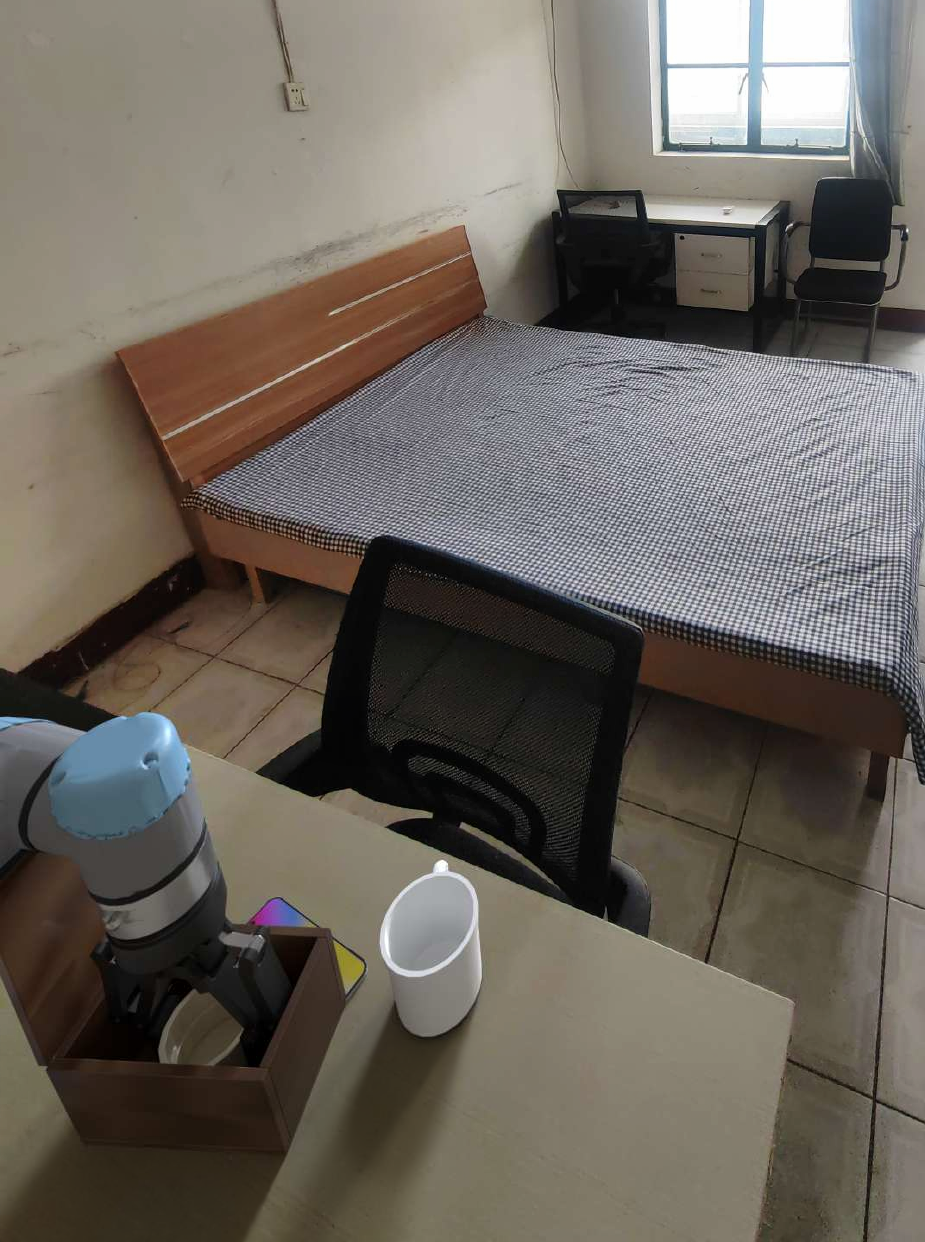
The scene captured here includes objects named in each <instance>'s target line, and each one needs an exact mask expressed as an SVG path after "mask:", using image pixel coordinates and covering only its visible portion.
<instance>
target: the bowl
mask: <svg viewBox="0 0 925 1242" xmlns="http://www.w3.org/2000/svg"><path fill="white" fill-rule="evenodd" d="M243 1029H244V1028H243V1027H242V1026H241V1025H240V1024H239V1023H238V1022H237V1021H236V1020H235V1019H234V1018H233V1017H232V1016H231V1015H230V1014H229V1013H228V1012H227V1011H226V1009H225V1008H224V1007H223V1006H222V1005H221V1004H220V1003H219V1002H218V1001H217V1000H216V999H215V998H214V997H213V996H212V995H211V994H210V993H205V994H199V993H198V992H197V991H196V990H195V989H193V990H192V991H191V992H190V993H189V994H188V995H187V996H186V997H185V998H184V999H183V1000H182V1002H181V1003H180V1004H179V1005H178V1006H177V1007H176V1009H175V1010H174V1012H173V1013H172V1015H171V1017H170V1018H169V1020H168V1022H167V1024H166V1025H165V1027H164V1030H163V1032H162V1036H161V1040H160V1044H159V1048H158V1054H159V1060H160V1063H170V1064H190V1065H209V1066H229V1067H249V1065H248V1062H247V1059H246V1057H245V1054H244V1051H243V1048H242V1045H241V1042H240V1039H239V1038H240V1035H241V1033H242V1031H243Z"/></svg>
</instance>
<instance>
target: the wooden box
mask: <svg viewBox="0 0 925 1242" xmlns="http://www.w3.org/2000/svg"><path fill="white" fill-rule="evenodd" d="M233 924H234V926H235V930H236V932H237V933H242V934H248V935H250V934H252V933H254V931H255V929H256V927H257V926H258V925H252V924H246V923H233ZM266 926H268V927H269V928H270V944H271V946H272V948H273V950H274V952H275V954H276V956H277V958H278V960H279V962H280V964H281V966H282V968H283V970H284V972H285V974H286V976H287V978H288V979H289V981H290V983H291V985H292V987H293V989H294V991H293V993H292V995H291V998H290V1000H289V1002H288V1004H287V1006H286V1009H285V1011H284V1013H283V1015H282V1017H281V1020H280V1022H279V1024H278V1026H277V1028H276V1031H275V1033H274V1035H273V1037H272V1039H271V1042H270V1044H269V1046H268V1048H267V1050H266V1053H265V1055H264V1057H263V1059H262V1061H261V1064H260V1066H259V1068H249V1067H229V1066H209V1065H190V1064H170V1063H158V1060H157V1058H156V1055H155V1053H154V1050H153V1048H152V1045H150V1044H149V1043H148V1042H147V1041H146V1039H145V1037H144V1034H143V1032H142V1031H141V1030H136V1029H135V1028H134V1027H133V1020H129V1019H127V1020H126V1021H125V1023H124V1024H123V1025H114V1024H113V1023H112V1022H111V1021H110V1016H109V1012H108V1007H107V1002H106V997H105V992H104V987H103V985H102V987H101V988H100V990H99V991H98V993H97V994H96V996H95V997H94V999H93V1000H92V1002H91V1003H90V1005H89V1006H88V1008H87V1009H86V1011H85V1012H84V1014H83V1015H82V1017H81V1018H80V1020H79V1021H78V1022H77V1024H76V1025H75V1027H74V1028H73V1030H72V1031H71V1033H70V1034H69V1036H68V1037H67V1039H66V1040H65V1042H64V1043H63V1045H62V1046H61V1048H60V1049H59V1051H58V1052H57V1054H56V1055H55V1057H54V1058H53V1060H52V1061H51V1063H50V1064H49V1065H48V1066H47V1067H46V1068H45V1073H46V1075H47V1076H48V1079H49V1081H50V1082H51V1084H52V1086H53V1088H54V1091H55V1092H56V1094H57V1097H58V1098H59V1100H60V1102H61V1104H62V1106H63V1108H64V1110H65V1113H66V1114H67V1116H68V1118H69V1120H70V1122H71V1124H72V1126H73V1128H74V1130H75V1132H76V1135H77V1136H78V1138H79V1140H80V1143H81V1145H84V1146H85V1145H86V1146H87V1145H88V1146H104V1147H105V1146H106V1147H122V1148H123V1147H125V1148H140V1149H141V1148H143V1149H158V1150H159V1149H160V1150H161V1149H162V1150H177V1151H178V1150H179V1151H180V1150H181V1151H198V1152H216V1153H217V1152H218V1153H219V1152H220V1153H233V1154H234V1153H235V1154H236V1153H237V1154H251V1155H252V1154H253V1155H254V1154H255V1155H271V1156H272V1155H273V1156H287V1155H288V1152H289V1150H290V1147H291V1144H292V1142H293V1140H294V1137H295V1134H296V1132H297V1130H298V1127H299V1125H300V1122H301V1118H302V1116H303V1114H304V1111H305V1109H306V1107H307V1103H308V1102H309V1099H310V1096H311V1093H312V1091H313V1089H314V1085H315V1084H316V1080H317V1078H318V1075H319V1073H320V1070H321V1068H322V1065H323V1063H324V1060H325V1058H326V1056H327V1052H328V1049H329V1047H330V1045H331V1042H332V1040H333V1037H334V1034H335V1031H336V1029H337V1026H338V1024H339V1021H340V1019H341V1017H342V1015H343V1011H344V1009H345V1007H346V1004H347V1002H346V997H347V996H346V992H345V988H344V984H343V980H342V976H341V971H340V967H339V963H338V959H337V954H336V950H335V946H334V942H333V937H332V935H333V933H332V929H331V928H330V927H322V928H318V927H296V926H274V925H266ZM171 984H173V985H172V986H171V988H170V990H169V991H168V993H167V995H166V997H165V998H164V1000H163V1002H164V1003H165V1002H166V1000H167V998H168V997H169V995H178V998H179V1000H180V1003H181V1002H182V1000H183V999H184V998H185V997H186V996H187V995H188V994H189V993H190V992H191V991H192V990H193V989H194V988H193V987H192V986H191V985H190V984H189V983H188V981H187V980H186V979H179V978H174V979H171V981H170V984H169V985H171Z"/></svg>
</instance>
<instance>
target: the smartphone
mask: <svg viewBox="0 0 925 1242" xmlns="http://www.w3.org/2000/svg"><path fill="white" fill-rule="evenodd" d="M245 924H252V925H274V926H296V927H318V928H323V927H322V926H321V925H319V923H317V922H316V921H314V920H313V919H312V918H310V917H309V916H308V915H306V913H303V912H302V911H301V910H300V909H298V908H297V907H296V906H294V905H293V904H292V903H290V902H289V901H288V900H286V899H285V898H284V897H282V896H280V895H277V896H274V897H271V898H269V899H268V900H266V901H265V903H264V904H263V905H262V906H261V907H260V908H259V909H258V910H257V911H256V912H255V913H254V914H253V915H252V916H251V917H250V919H248V920H247V922H245ZM332 937H333V942H334V946H335V950H336V954H337V959H338V963H339V967H340V971H341V976H342V980H343V984H344V988H345V992H346V996H347V997H346V1003H348V1001H349V1000H350V998H352V996H353V995H354V993H355V992H356V991H357V990H358V988H359V987H360V985H361V984H362V983H363V981H364V980H365V979H366V977H367V974H368V971H369V969H368V962H367V960H366V959H364V957H362V956H360V954H358V953H357V952H355V950H352V949H351V948H350V947H349V946H347V944H345V943H343V942H342V941H341V940H340V939H338V938H337V937H335V936H334V935H333V934H332Z"/></svg>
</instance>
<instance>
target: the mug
mask: <svg viewBox="0 0 925 1242" xmlns="http://www.w3.org/2000/svg"><path fill="white" fill-rule="evenodd" d="M380 927H381V928H380V934H379V949H380V953H381V957H382V960H383V963H384V965H385V967H386V968H385V969H386V970H387V973H388V976H389V980H390V984H391V989H392V993H393V997H394V1001H395V1005H396V1009H397V1013H398V1018H399V1021H400V1023H401V1024H402V1026H403V1028H404V1029H405V1030H406V1031H407V1032H408V1033H409V1034H410V1035H412V1036H414V1037H417V1038H420V1039H423V1040H425V1039H427V1040H428V1039H437V1038H439V1037H442V1036H444V1035H447V1034H448V1033H450V1032H452V1031H453V1030H454V1029H456V1028H457V1027H458V1026H459V1025H460V1024H461V1023H462V1022H463V1021H464V1020H465V1019H466V1018H467V1017H468V1016H469V1013H470V1012H471V1011H472V1009H473V1008H474V1006H475V1004H476V1003H477V999H478V997H479V994H480V992H481V988H482V987H481V986H482V982H483V981H482V980H483V967H482V955H481V943H480V932H479V899H478V896H477V893H476V890H475V888H474V886H473V885H472V884H471V882H470V881H469V879H468V878H465V877H464V876H463V875H461V874H460V873H457V872H453V871H450V870H449V865H448V862H446V861H445V860H439V861H437V862H436V863H435V864H434V866H433V869H432V872H431V873H427V874H425V875H423V876H421V877H419V878H417V879H415V880H413V881H412V882H411V883H409V885H407V886H406V887H405V888H404V889H402V891H400V893H399V894H397V896H396V897H395V899H394V900H393V901H392V903H391V904H390V906H389V908H388V910H387V911H386V913H385V915H384V918H383V921H382V925H381V926H380Z"/></svg>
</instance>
